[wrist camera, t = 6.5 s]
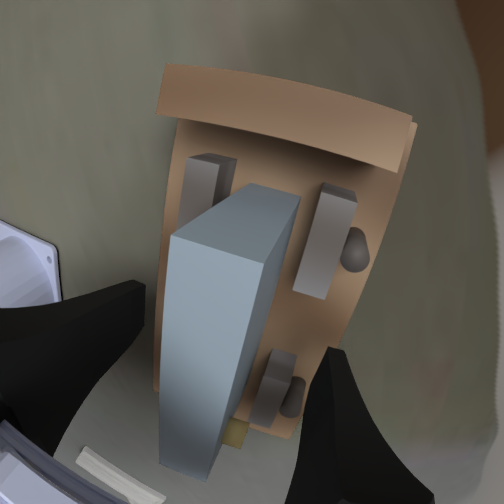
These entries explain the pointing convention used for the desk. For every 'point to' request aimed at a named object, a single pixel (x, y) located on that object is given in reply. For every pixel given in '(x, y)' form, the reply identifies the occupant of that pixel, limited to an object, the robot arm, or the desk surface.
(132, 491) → the molding
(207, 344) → the rectangular block
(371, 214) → the knife switch board
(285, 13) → the desk surface
